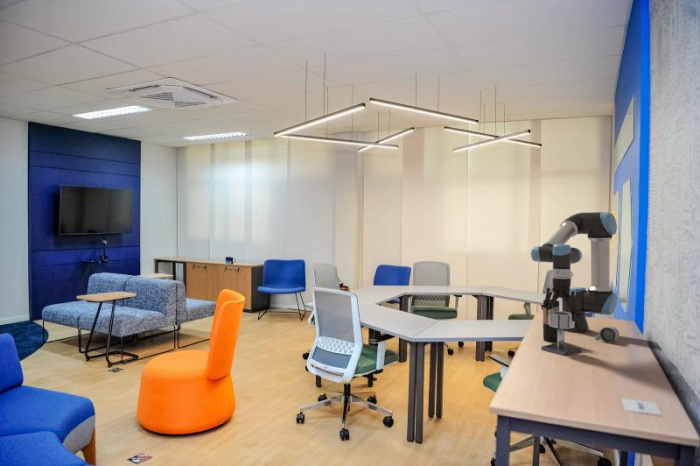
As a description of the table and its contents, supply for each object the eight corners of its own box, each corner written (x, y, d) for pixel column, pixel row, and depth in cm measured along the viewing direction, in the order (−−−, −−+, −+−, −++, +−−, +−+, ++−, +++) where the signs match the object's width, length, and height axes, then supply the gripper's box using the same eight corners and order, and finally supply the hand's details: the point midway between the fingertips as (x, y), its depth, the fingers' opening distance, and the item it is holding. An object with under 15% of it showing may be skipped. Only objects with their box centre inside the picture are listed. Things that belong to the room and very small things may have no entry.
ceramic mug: (620, 340, 234) (619, 325, 234) (616, 344, 228) (616, 328, 228) (596, 337, 241) (596, 322, 241) (592, 340, 235) (592, 325, 235)
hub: (557, 322, 223) (557, 310, 223) (577, 326, 215) (577, 313, 215) (544, 325, 218) (544, 312, 218) (564, 329, 210) (564, 316, 209)
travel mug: (557, 343, 230) (557, 302, 230) (540, 340, 235) (541, 301, 234) (560, 339, 236) (561, 300, 236) (545, 337, 241) (545, 299, 240)
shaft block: (556, 345, 225) (557, 326, 225) (580, 351, 215) (580, 331, 215) (541, 349, 219) (541, 329, 218) (565, 355, 208) (565, 334, 208)
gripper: (535, 275, 223) (534, 322, 224) (580, 280, 204) (579, 331, 205) (544, 274, 227) (544, 320, 228) (589, 279, 208) (589, 329, 209)
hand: (561, 325), depth 216 cm, fingers closed on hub, 10 cm apart
